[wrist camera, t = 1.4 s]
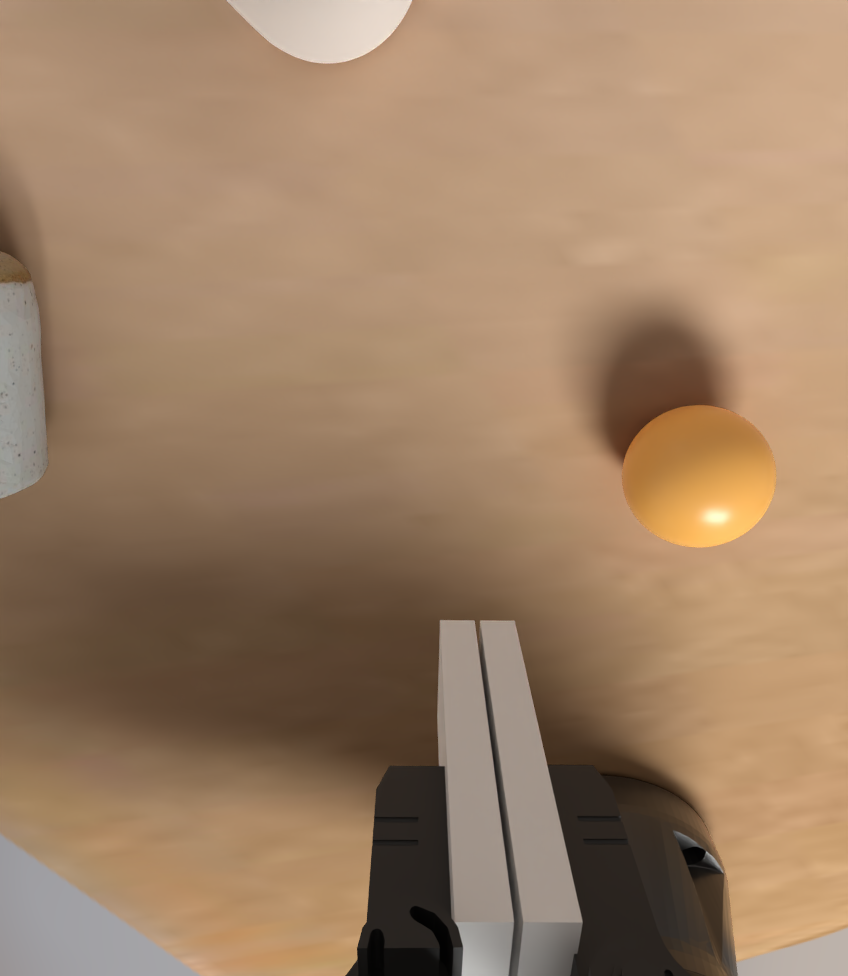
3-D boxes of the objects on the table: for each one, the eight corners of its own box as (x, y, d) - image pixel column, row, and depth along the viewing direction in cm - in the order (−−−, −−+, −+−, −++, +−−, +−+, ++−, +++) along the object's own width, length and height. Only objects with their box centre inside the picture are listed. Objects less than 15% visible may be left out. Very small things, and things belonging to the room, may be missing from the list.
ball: (722, 510, 29) (785, 575, 24) (599, 509, 29) (636, 573, 24) (748, 389, 27) (824, 433, 22) (615, 387, 27) (660, 431, 22)
